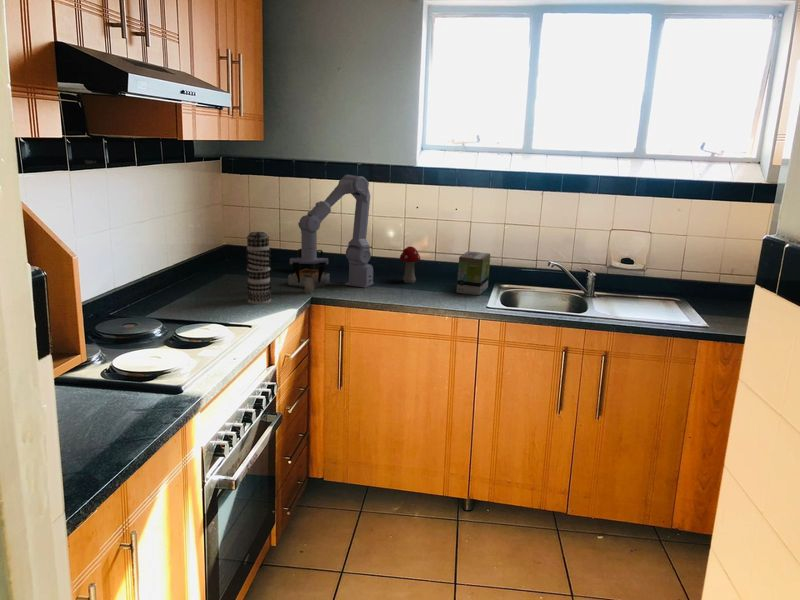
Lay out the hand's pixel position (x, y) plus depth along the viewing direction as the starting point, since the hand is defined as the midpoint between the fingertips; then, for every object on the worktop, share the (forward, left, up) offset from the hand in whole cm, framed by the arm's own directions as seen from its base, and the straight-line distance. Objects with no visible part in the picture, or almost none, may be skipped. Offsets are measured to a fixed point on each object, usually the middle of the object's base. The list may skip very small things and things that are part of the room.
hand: (309, 282), depth 255 cm
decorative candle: (+8, +21, -4) cm, 23 cm away
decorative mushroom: (-26, -37, -4) cm, 46 cm away
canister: (0, 0, -4) cm, 4 cm away
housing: (+7, -11, -4) cm, 14 cm away
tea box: (-54, -37, -4) cm, 66 cm away
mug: (+20, -33, -4) cm, 39 cm away
